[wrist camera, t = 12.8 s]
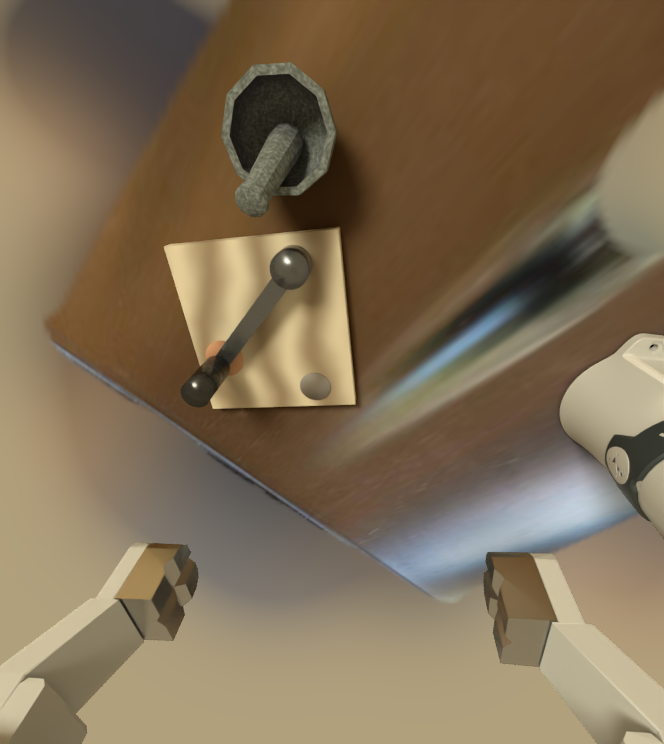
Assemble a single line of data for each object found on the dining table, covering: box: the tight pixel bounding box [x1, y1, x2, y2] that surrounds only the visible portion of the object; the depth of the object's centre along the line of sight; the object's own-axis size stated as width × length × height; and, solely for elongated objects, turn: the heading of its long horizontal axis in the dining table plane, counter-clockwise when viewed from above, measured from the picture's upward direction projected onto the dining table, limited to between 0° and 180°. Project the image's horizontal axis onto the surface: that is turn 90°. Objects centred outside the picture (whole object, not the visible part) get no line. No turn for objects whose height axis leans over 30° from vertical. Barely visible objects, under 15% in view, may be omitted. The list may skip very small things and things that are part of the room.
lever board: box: [164, 227, 356, 409], centre depth 47 cm, size 20×22×2 cm
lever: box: [181, 245, 313, 407], centre depth 41 cm, size 4×20×8 cm, turn 142°
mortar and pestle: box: [221, 63, 337, 217], centre depth 33 cm, size 11×9×12 cm
